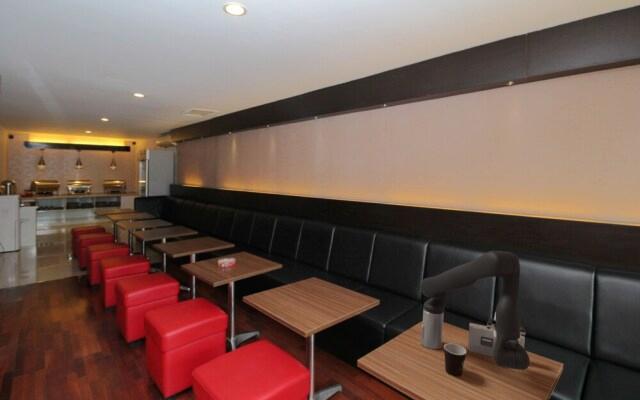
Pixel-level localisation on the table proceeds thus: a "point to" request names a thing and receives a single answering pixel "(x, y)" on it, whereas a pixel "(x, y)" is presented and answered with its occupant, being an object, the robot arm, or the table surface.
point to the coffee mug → (454, 359)
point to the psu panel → (484, 340)
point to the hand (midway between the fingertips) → (503, 320)
